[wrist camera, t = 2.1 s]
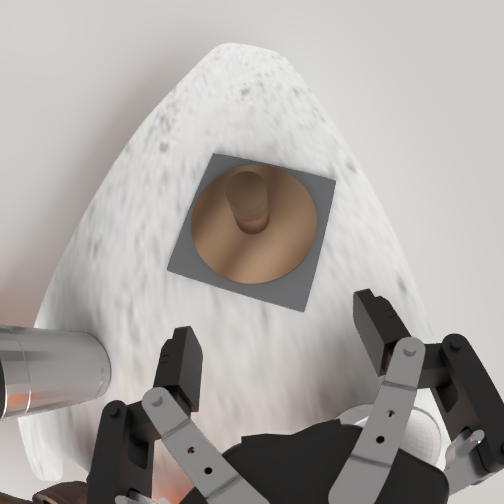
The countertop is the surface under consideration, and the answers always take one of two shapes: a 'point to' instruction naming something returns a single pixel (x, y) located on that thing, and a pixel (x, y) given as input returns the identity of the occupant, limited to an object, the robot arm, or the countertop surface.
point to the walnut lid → (254, 224)
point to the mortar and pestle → (54, 494)
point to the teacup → (406, 431)
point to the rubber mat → (276, 292)
